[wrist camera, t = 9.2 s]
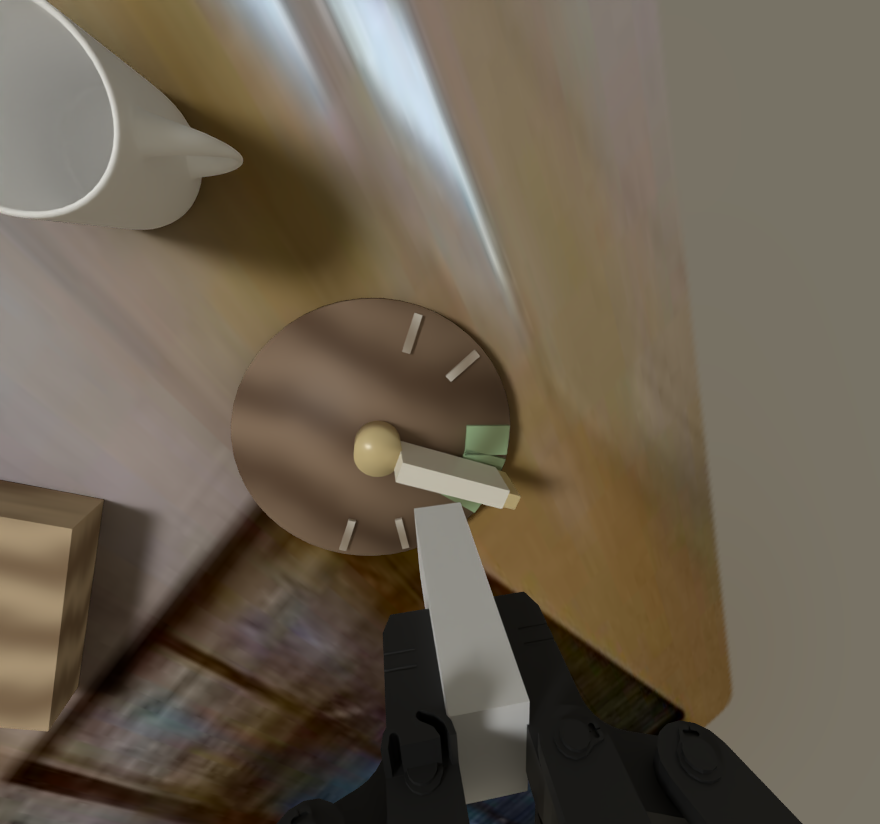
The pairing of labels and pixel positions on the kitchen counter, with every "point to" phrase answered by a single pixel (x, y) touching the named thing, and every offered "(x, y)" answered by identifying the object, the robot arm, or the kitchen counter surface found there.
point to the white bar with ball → (430, 468)
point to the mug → (91, 131)
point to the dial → (362, 419)
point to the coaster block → (43, 599)
